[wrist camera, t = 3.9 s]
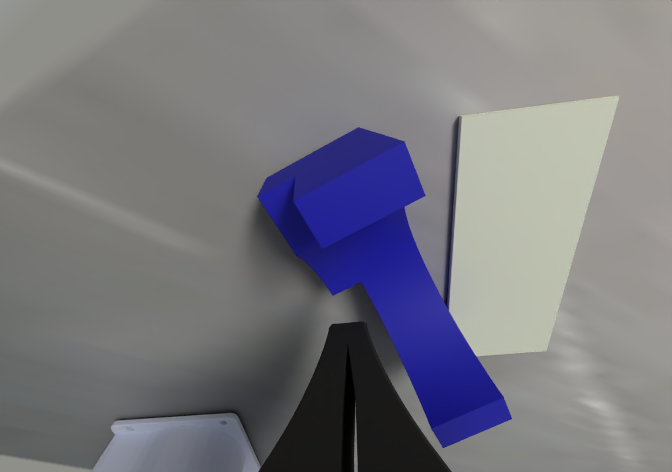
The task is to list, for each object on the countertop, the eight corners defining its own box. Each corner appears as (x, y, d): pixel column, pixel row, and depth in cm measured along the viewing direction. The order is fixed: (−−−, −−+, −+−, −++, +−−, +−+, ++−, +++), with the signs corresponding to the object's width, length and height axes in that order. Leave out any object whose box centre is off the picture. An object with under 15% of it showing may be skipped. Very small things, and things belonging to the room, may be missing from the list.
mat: (444, 354, 18) (445, 358, 18) (459, 115, 12) (461, 116, 12) (543, 347, 18) (546, 350, 18) (613, 96, 12) (619, 96, 11)
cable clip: (266, 177, 13) (240, 229, 7) (358, 127, 12) (404, 141, 7) (375, 352, 18) (409, 462, 12) (444, 320, 17) (511, 418, 12)
